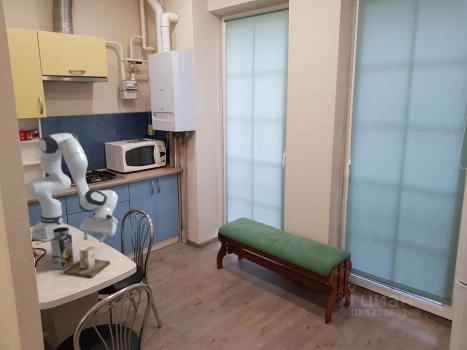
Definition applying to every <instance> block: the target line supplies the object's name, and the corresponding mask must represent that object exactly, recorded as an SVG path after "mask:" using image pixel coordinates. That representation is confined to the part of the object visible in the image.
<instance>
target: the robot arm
mask: <svg viewBox="0 0 467 350" xmlns="http://www.w3.org/2000/svg"><path fill="white" fill-rule="evenodd" d="M80 143H81V141H80V138H79V136H78V135H77V134H76V133H75V132H59V133H53V134H50V135H48V134H47V135H44V136H41V137H40V139H39V142H38V145H39V149H40V169H41V171H42V172H43V173H45V174H47V175H48V176H46V177H39V178H35V179H32V180H30V181H29V182H28V183H27V185H26V191H27V193H28V195H30V197H33V198H35V199H37V201H38V202H39V204H40V206H41V212H42V215H41V216H39V217H38V219H39V220H40V221H39V222H37V223H36V224H35V225H33V227H32V232H31V233H32V238H31V239H34V240H37V241H41V242H49V241H51V239H53V238H54V234H53V230H54V229H56V228H59V227H65V224H64V214H63V209H62V203H61V201H60V200H58V199H56V198H53V197H52V195H54V194H60V193H63V192H65V191H68V190H70V188H71V186H72V181H71V178H70V176H68V175H66V174H65V173H64V172H63V170H62V157H63V159H64V161H65V163H66V165H67V168H68V171H69V172H70V175H71V177H72V180H73V184H74V187H75V189H76V192H77V195H78V206H79V208H80V210H82V211H83V212H85V213H91V212H94V211H95V210H96V211H95V213H94V215H93V216H91V215H87V216H85V217H84V219H83V220H82V222H81V223H80V226H79V231H81V232H82V233H83V238H82V239H83V240H84V241H88V238H89V237H88V235H89V234H96V235H102V237H99V239H98V242H99V243H103V242H104V240H106V239H107V237H108V236H109V237H114V235H115V234H116V232H117V227H118V223H119V221H118V219H117V218H115V216H114V215H113V212H114V211H115V209H116V206H117V204H118V200H119V196H118V194H117V192H115V191H114V190H113V189H112V190H111V189H106V190H100V189H96V188H91V189H89V185H88V183H87V179H86V176H87V168H88V164H89V162H88V158H87V155H86V153H85V150H84V149H83V147H82V145H81V144H80Z"/></svg>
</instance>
